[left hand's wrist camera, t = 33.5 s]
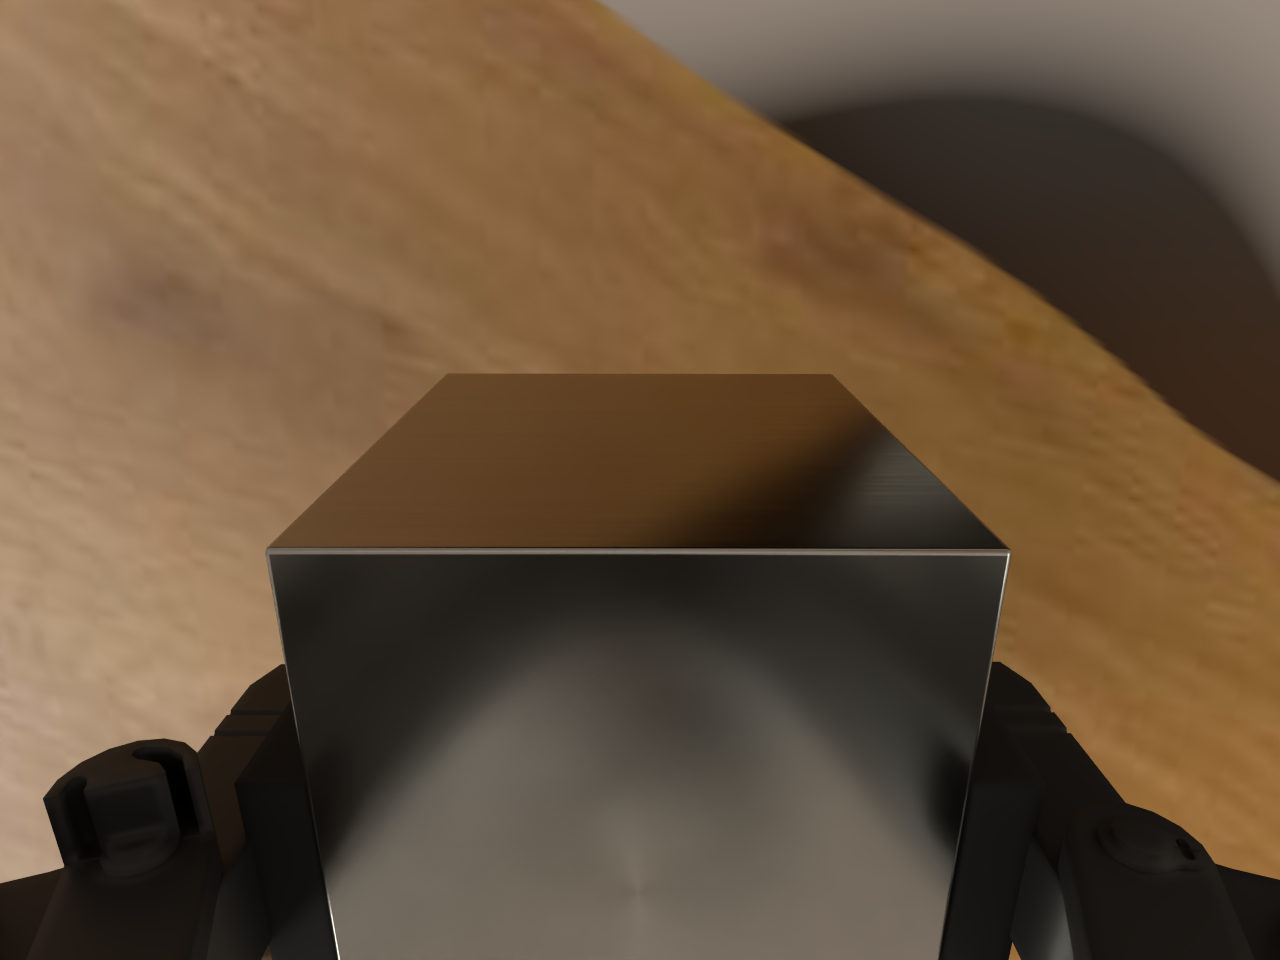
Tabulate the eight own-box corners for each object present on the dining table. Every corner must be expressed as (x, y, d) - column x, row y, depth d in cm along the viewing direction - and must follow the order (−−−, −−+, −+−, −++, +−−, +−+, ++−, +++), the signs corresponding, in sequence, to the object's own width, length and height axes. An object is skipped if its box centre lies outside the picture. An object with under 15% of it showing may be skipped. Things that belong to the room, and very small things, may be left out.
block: (445, 373, 14) (262, 548, 7) (833, 373, 14) (1013, 551, 7) (477, 753, 16) (366, 1138, 10) (799, 754, 16) (908, 1140, 10)
